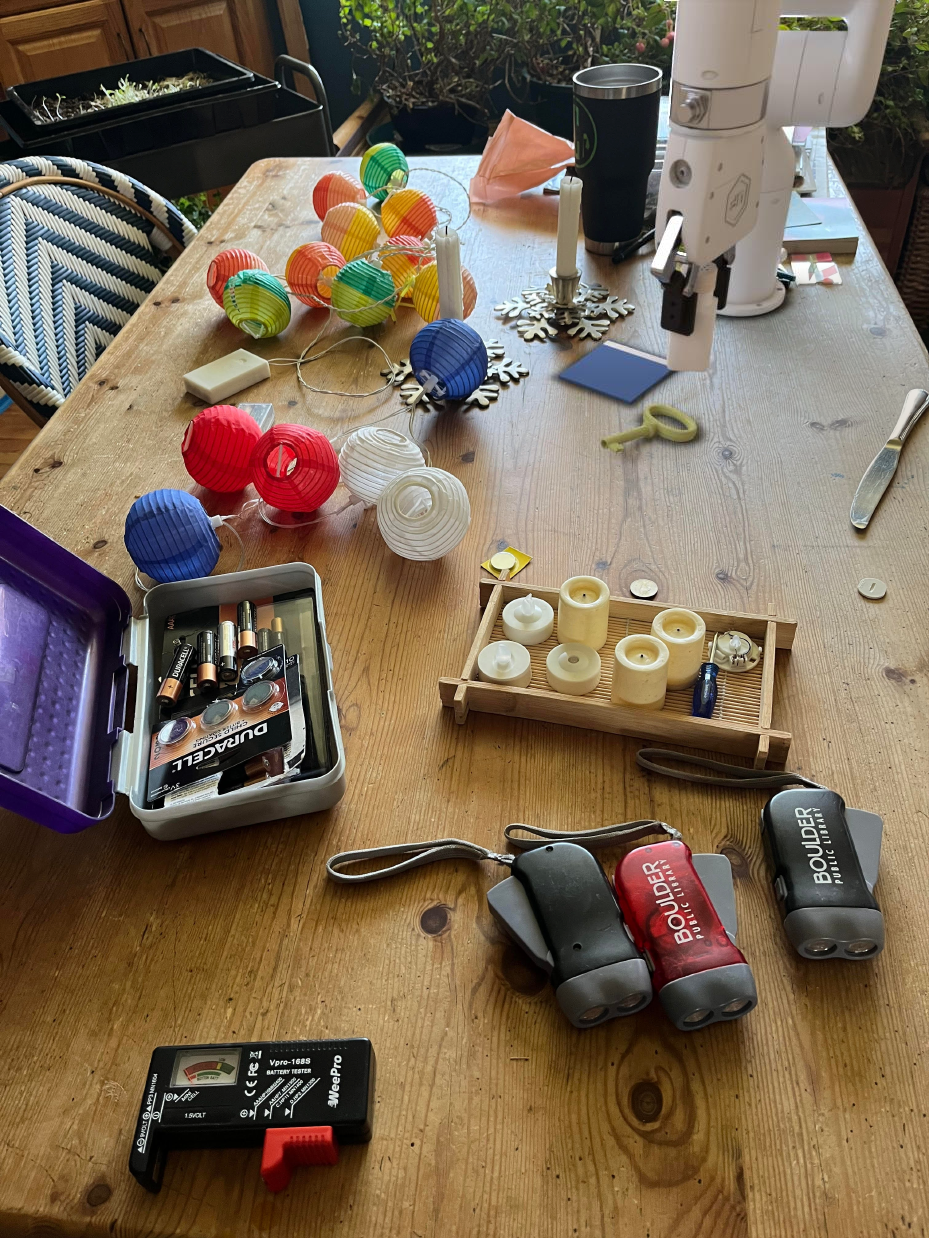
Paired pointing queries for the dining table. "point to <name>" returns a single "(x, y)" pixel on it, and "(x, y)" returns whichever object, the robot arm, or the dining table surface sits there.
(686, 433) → the key
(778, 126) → the robot arm
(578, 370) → the towel
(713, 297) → the pepper shaker
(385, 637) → the dining table surface
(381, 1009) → the dining table surface
